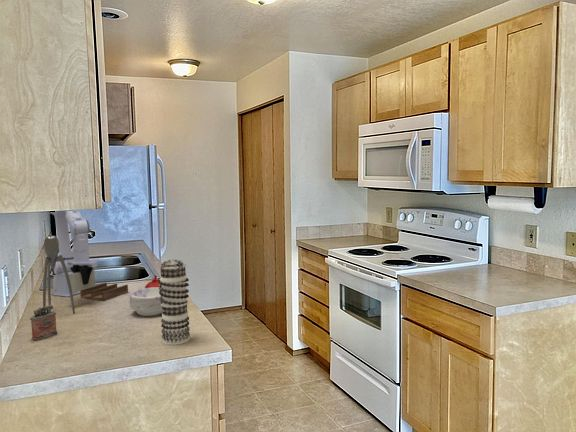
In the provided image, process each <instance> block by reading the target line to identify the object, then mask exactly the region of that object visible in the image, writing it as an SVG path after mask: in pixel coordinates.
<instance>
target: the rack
mask: <svg viewBox="0 0 576 432" xmlns="http://www.w3.org/2000/svg"><path fill="white" fill-rule="evenodd" d="M128 285H129V284H123V285H121V286H118V283H113V284H110V285H108V282H102V283H98V284H95V286H94V287H91V288H88V289H84V290H81V291H80V293H79V294H80V299H86V300H93V301H102V302H103V301H104V302H105V301H108V300H111V299H113V298H117V297H119V296H122V295H125V294H128V293H129V286H128Z"/></svg>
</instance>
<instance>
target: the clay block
mask: <svg viewBox="0 0 576 432" xmlns="http://www.w3.org/2000/svg"><path fill="white" fill-rule="evenodd" d="M95 275H96V274H95V268H93V270H92V272H91V275H90V278H89V283H88V284H86V285H83V281H82V275H81V272H76V273H72V274H70V283H71V288H72V292H78V291H81V290H84V289H88V288H91V287H94V286H95V285H96V278H95Z"/></svg>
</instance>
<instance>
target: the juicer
mask: <svg viewBox="0 0 576 432" xmlns="http://www.w3.org/2000/svg"><path fill="white" fill-rule="evenodd" d="M43 247H44V252H45V255H46V256H45V259H44V260H45V261H44V269H43V270H44V271H43V280H42V281H43V285H42V307H45V306H49V305H52V303H51V302H52V300H51V299H52V298H51V295H52V294H51V269H52V271H54V267H55V264H56V262H57V261H59V260H60V262H61V264H62V267H63V270H64V273H65V276H66V280H67V284H68V288H69V293H70V296H69V297H70V298H69V299H70V303H71V310H72V311H71V312H72V314H73V315H74V314H75V313H76V312H75V311H76V310H75V302H74V295H73V294H72V288H71V283H70V279H69V275H68V272H67V268H66V265H65V262H64V259H65V258H64V259H63V257H62V255H60V256H58V253H59V242H58V237H57V236H56V235H47V236H45V238H44V241H43ZM57 256H58V257H57ZM46 295H47V296H46ZM46 297H47V298H46ZM46 301H48V305H46V304H47V303H46ZM49 311H52V309H51V310H49Z"/></svg>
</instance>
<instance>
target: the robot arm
mask: <svg viewBox="0 0 576 432" xmlns="http://www.w3.org/2000/svg"><path fill="white" fill-rule="evenodd" d="M49 213H50V214H51V215H52V216H54V220H55V228H56V235H57V236H56V237H57V239H58V242H59V251H58V256H60V255H62V257H63V259H64V262H65V265H66V268H67V272H68V275H69V279H70V274H72V273H76V272H81V275H82V281H83V285H86V284H88V283H89V278H90V275H91V272H92V270H93V269H95V268H97V267H98V261H94V260H91V259H90V251H89V250H90V247H89V234H90V231H91V229H90V227H91V226H90V222H89V220H88V219H87V218H83V216H82V214H81V213H80V211H79V210H78V211H58V212H50V211H49ZM70 240H72V248H71V241H70ZM58 256H57V257H58ZM53 274H55V275H54V276H53V279H52V290H53V293H52V294H51V295H52V296H58V297H65V298H69V297H70V293H69V288H68V284H67V280H66V276H65V273H64V270H63V267H62V264H61V262H60V260H59V261H57V262H56V264H55V267H54V270H53ZM72 294H73V296H75V295H79V294H80V291H78V292H72Z"/></svg>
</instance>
